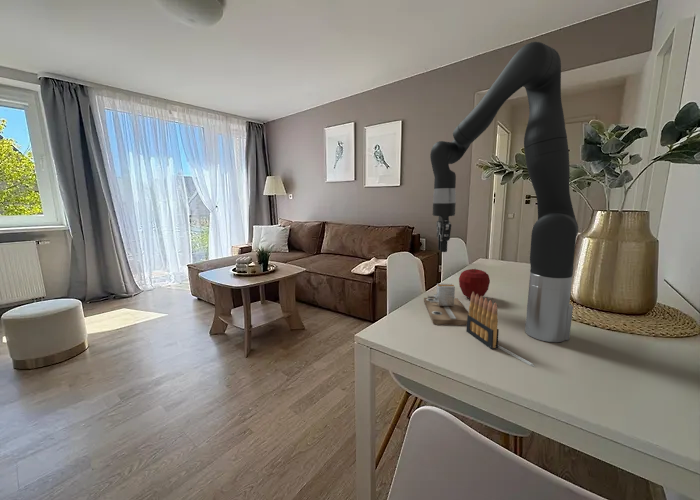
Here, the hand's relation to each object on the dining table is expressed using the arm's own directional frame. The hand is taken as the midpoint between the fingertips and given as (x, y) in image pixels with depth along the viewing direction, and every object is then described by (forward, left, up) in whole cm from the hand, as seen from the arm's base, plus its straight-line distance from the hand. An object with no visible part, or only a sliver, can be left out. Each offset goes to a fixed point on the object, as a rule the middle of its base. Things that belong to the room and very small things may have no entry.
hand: (442, 250), depth 103 cm
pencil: (-9, +35, -20) cm, 41 cm away
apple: (-13, -5, -19) cm, 24 cm away
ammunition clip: (-5, +29, -19) cm, 35 cm away
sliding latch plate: (0, +10, -19) cm, 22 cm away
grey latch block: (+1, +7, -17) cm, 19 cm away
